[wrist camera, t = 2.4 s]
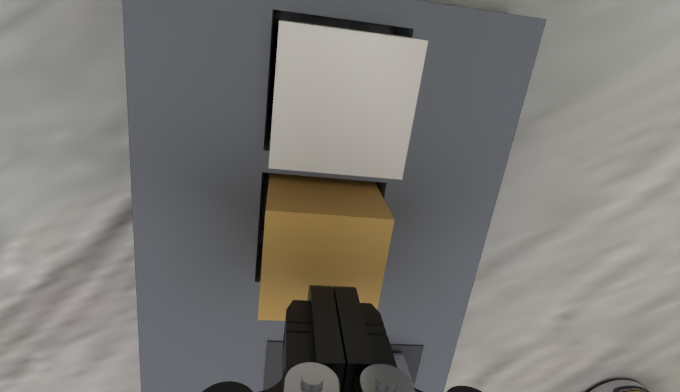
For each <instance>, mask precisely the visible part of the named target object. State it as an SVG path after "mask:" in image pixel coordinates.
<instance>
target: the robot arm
mask: <svg viewBox="0 0 680 392" xmlns="http://www.w3.org/2000/svg"><path fill="white" fill-rule="evenodd" d="M202 392H253V391H252V390H251V389H250V388H249V387H248V386H246V385H244V384H242V383H239V382H234V381H225V382H219V383H216V384H213V385H211V386H209V387H208V388H206V389H205V390H204V391H202ZM259 392H423V391H421V390H418V389H416V388H415V387H413V385H412V382H411V381H410V379H409V377H408V376H407V375H406V374H405V373H404V372H403V371H401V370H400V369H398V367H397V364H396V361H395V358H394V355H393V352H392V348H391V345H390V342H389V339H388V336H387V333H386V329H385V327H384V323H383V320H382V317H381V314H380V312H379V311H378V310H377V309H376V308H375V307H374V306H373V305H372V304H371V303H360V301H359V297H358V293H357V289H356V287H344V286H333V287H332V286H322V285H310V286H309V290H308V299H307V301H306V300H293V301H292V302H291V303H290V305H289V306H288V308H287V309H286V317H285V328H284V338H283V348H282V379H281V380H280V381H279V382H278V383H277V384H276V385H274V386H273V387H271V388H269V389H266V390H263V391H259ZM447 392H481V391H480V390H477V389H475V388H472V387H468V386H456V387H453V388H451V389H449V390H448V391H447Z"/></svg>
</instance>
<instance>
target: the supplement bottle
mask: <svg viewBox="0 0 680 392" xmlns="http://www.w3.org/2000/svg"><path fill="white" fill-rule="evenodd" d="M590 392H649V391H648V390H647V389H646V388H645V387H643V386H642V385H640V384H639V383H636V382H634V381H630V380H615V381H610V382H607V383H604V384H602V385H600V386H598V387H596V388H594V389H593V390H591V391H590Z"/></svg>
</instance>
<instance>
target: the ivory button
mask: <svg viewBox="0 0 680 392" xmlns="http://www.w3.org/2000/svg"><path fill="white" fill-rule="evenodd" d="M427 45H428V41H427V40H422V39H416V38H410V37H405V36H399V35H392V34H385V33H377V32H370V31H363V30H355V29H348V28H340V27H333V26H326V25H318V24H311V23H303V22H296V21H289V20H279V27H278V41H277V55H276V69H275V83H274V97H273V111H272V125H271V139H270V153H269V167H268V168H270V169H282V170H294V171H305V172H317V173H329V174H340V175H352V176H364V177H375V178H387V179H399V180H402V178H403V172H404V167H405V162H406V156H407V151H408V146H409V141H410V135H411V130H412V125H413V119H414V114H415V109H416V104H417V98H418V93H419V88H420V82H421V77H422V72H423V67H424V61H425V56H426V51H427Z"/></svg>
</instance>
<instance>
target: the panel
mask: <svg viewBox="0 0 680 392" xmlns="http://www.w3.org/2000/svg"><path fill="white" fill-rule="evenodd" d="M122 4H123V24H124V45H125V66H126V86H127V107H128V128H129V148H130V169H131V190H132V211H133V231H134V252H135V273H136V293H137V314H138V335H139V355H140V376H141V392H202V391H204V390H205V389H206V388H208V387H209V386H211V385H213V384H216V383H219V382H225V381H234V382H239V383H242V384H244V385H246V386H248V387H249V388H250V389H251V390H252V391H253V392H259V391H263V390H266V389H269V388H271V387H273V386H274V385H276V384H277V383H278V382H279V381H280V380H281V379H282V348H283V338H284V328H285V321H272V320H258V308H259V294H260V280H261V266H262V252H263V249H259V240H260V226H261V211H262V196H263V181H264V172H265V173H277V174H289V175H301V176H312V177H324V178H336V179H348V180H360V181H372V182H375V183H376V185H377V187H378V189H379V191H380V193H381V195H382V196H383V198H384V200H385V202H386V204H387V206H388V208H389V210H390V212H391V214H392V216H393V218H394V225H393V231H392V236H391V241H390V246H389V252H388V257H387V262H386V268H385V273H384V278H383V283H382V289H381V294H380V299H379V305H378V311H379V312H380V314H381V317H382V320H383V323H384V327H385V329H386V333H387V336H388V339H389V342H390V345H391V348H392V352H393V353H403V355H404V358H405V361H406V364H407V366H408V369H409V372H410V375H411V378H412V381H413V384H414V387H415V388H416V389H418V390H421V391H423V392H443V391H444V388H445V384H446V381H447V377H448V373H449V370H450V366H451V362H452V359H453V355H454V352H455V348H456V344H457V341H458V337H459V334H460V330H461V326H462V323H463V319H464V315H465V312H466V308H467V305H468V301H469V297H470V294H471V290H472V287H473V283H474V279H475V276H476V272H477V268H478V265H479V261H480V258H481V254H482V250H483V247H484V243H485V240H486V236H487V232H488V229H489V225H490V221H491V218H492V214H493V211H494V207H495V203H496V200H497V196H498V193H499V189H500V185H501V182H502V178H503V174H504V171H505V167H506V164H507V160H508V156H509V153H510V149H511V145H512V142H513V138H514V135H515V131H516V127H517V124H518V120H519V117H520V113H521V109H522V106H523V102H524V98H525V95H526V91H527V88H528V84H529V80H530V77H531V73H532V70H533V66H534V62H535V59H536V55H537V51H538V48H539V44H540V41H541V37H542V33H543V30H544V26H545V23H546V19H540V18H534V17H527V16H520V15H513V14H506V13H500V12H493V11H486V10H479V9H473V8H466V7H459V6H452V5H446V4H439V3H432V2H425V1H419V0H122ZM275 10H277V11H284V12H291V13H298V14H306V15H313V16H320V17H327V18H335V19H342V20H349V21H356V22H364V23H371V24H378V25H386V26H393V27H395V33H394V35H399V36H405V37H410V38H416V39H422V40H427V41H428V45H427V51H426V56H425V61H424V67H423V72H422V77H421V82H420V88H419V93H418V98H417V104H416V109H415V114H414V119H413V125H412V130H411V135H410V141H409V146H408V151H407V156H406V162H405V167H404V172H403V178H402V180H399V179H387V178H375V177H364V176H352V175H340V174H329V173H317V172H305V171H294V170H282V169H270V168H268V167H269V153H270V139H271V132H267V122H268V107H269V93H270V78H271V63H272V48H273V34H274V19H275Z"/></svg>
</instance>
